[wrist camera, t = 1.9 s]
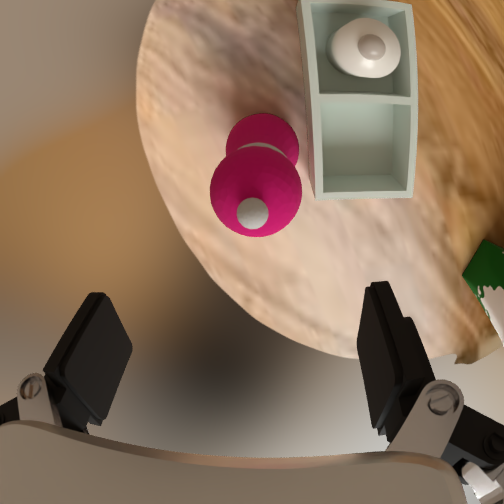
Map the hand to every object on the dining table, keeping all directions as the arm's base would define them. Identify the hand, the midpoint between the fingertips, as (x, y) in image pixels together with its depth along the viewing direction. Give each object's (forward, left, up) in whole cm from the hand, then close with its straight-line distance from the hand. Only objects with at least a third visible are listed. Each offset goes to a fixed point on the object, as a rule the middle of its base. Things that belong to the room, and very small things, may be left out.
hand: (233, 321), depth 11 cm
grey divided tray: (-5, +10, -27) cm, 30 cm away
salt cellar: (-10, +10, -26) cm, 30 cm away
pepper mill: (0, 0, -28) cm, 28 cm away
